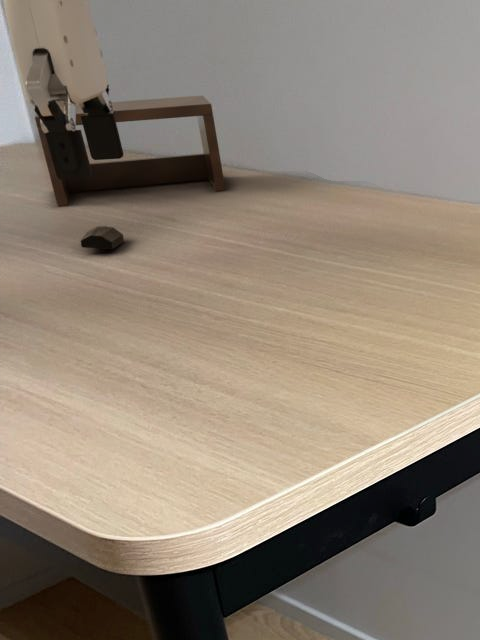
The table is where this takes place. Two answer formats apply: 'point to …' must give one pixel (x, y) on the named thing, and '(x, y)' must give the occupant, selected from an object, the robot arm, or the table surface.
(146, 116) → the shelf
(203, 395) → the table surface
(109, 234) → the block
